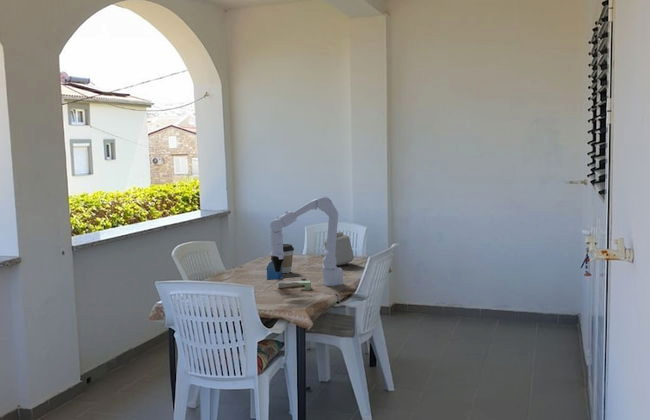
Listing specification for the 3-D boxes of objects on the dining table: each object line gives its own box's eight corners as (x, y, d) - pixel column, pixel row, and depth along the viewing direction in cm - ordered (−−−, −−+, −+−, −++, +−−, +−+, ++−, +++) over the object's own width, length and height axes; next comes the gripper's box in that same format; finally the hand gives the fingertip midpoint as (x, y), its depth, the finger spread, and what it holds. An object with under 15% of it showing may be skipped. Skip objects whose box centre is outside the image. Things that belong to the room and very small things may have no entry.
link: (306, 284, 296) (306, 280, 295) (308, 285, 292) (308, 281, 292) (276, 286, 291) (276, 282, 290) (278, 288, 287) (278, 284, 287)
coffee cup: (277, 270, 339) (276, 243, 338) (297, 270, 337) (296, 243, 335) (271, 274, 328) (270, 246, 327) (291, 274, 326) (291, 247, 324)
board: (309, 286, 298) (309, 276, 297) (321, 293, 282) (321, 283, 281) (272, 289, 291) (272, 280, 291) (281, 297, 275) (281, 287, 275)
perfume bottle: (271, 277, 321) (270, 254, 320) (282, 277, 319) (281, 255, 318) (267, 279, 315) (266, 256, 314) (278, 280, 313) (277, 257, 312)
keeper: (299, 287, 289) (299, 280, 289) (311, 287, 288) (310, 280, 288) (298, 290, 285) (297, 282, 284) (309, 290, 284) (309, 282, 284)
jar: (319, 267, 345) (318, 223, 342) (323, 262, 359) (322, 220, 357) (352, 267, 342) (352, 223, 339) (355, 262, 356) (354, 220, 354)
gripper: (265, 242, 299) (266, 269, 301) (272, 246, 286) (273, 275, 287) (279, 241, 302) (279, 268, 303) (287, 245, 288) (287, 273, 289)
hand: (277, 271), depth 295 cm, fingers closed
